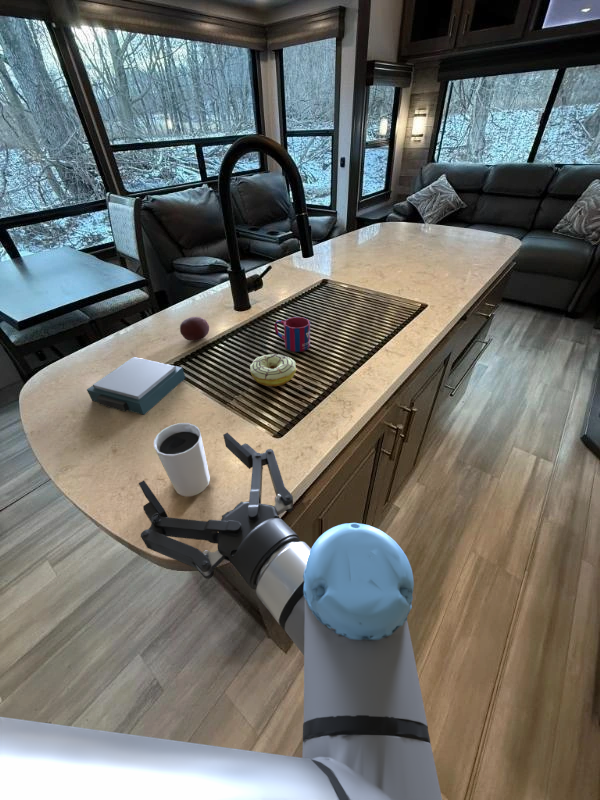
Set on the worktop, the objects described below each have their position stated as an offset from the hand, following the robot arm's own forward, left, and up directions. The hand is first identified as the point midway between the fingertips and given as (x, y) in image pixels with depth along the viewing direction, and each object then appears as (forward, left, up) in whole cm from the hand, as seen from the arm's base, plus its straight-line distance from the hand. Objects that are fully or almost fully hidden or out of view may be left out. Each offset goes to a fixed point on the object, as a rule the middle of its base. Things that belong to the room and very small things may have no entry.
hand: (188, 461), depth 50 cm
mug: (+33, +36, -6) cm, 49 cm away
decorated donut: (+23, +24, -6) cm, 34 cm away
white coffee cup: (0, +1, -6) cm, 6 cm away
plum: (+10, +51, -6) cm, 52 cm away
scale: (-6, +32, -6) cm, 33 cm away
